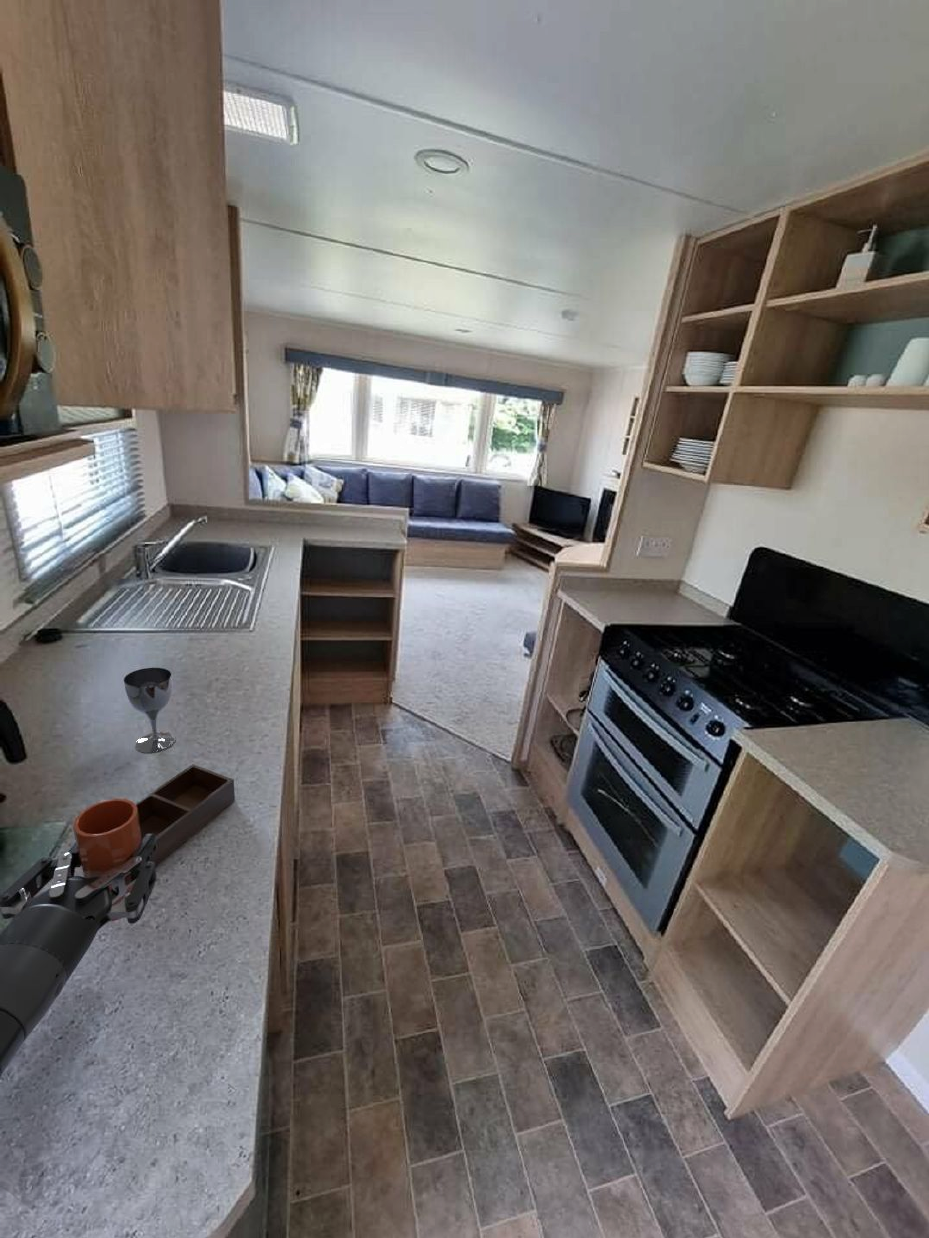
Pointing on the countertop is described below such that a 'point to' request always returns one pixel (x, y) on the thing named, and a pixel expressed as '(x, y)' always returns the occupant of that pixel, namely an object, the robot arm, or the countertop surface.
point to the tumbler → (107, 837)
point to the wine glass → (150, 702)
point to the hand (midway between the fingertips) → (123, 837)
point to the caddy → (183, 807)
